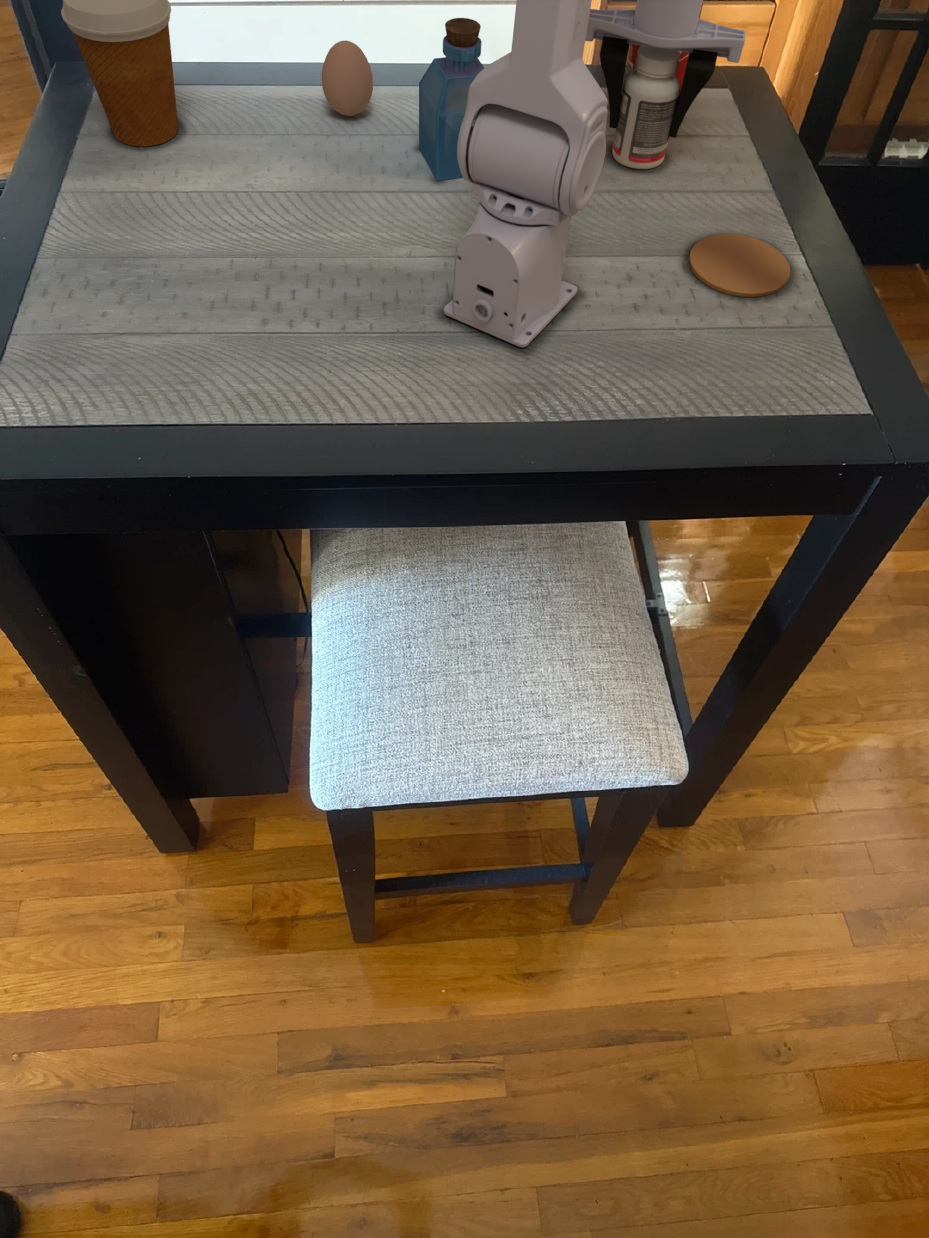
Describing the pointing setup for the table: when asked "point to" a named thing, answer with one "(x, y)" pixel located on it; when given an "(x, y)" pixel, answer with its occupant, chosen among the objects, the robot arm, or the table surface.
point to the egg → (347, 78)
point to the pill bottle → (647, 109)
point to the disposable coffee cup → (128, 64)
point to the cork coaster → (739, 265)
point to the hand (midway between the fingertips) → (643, 128)
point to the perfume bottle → (448, 96)
